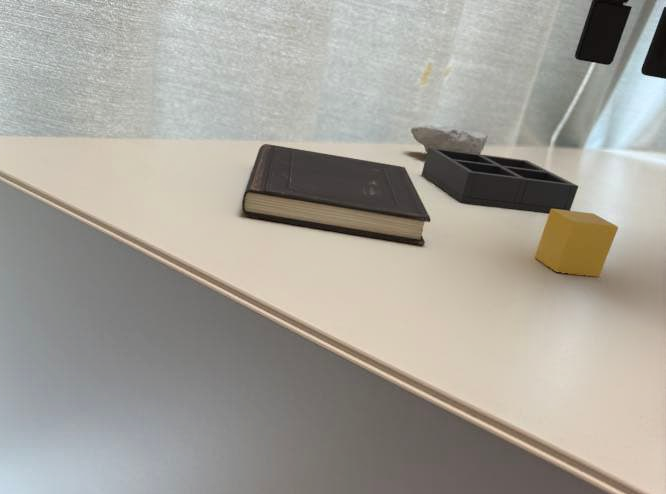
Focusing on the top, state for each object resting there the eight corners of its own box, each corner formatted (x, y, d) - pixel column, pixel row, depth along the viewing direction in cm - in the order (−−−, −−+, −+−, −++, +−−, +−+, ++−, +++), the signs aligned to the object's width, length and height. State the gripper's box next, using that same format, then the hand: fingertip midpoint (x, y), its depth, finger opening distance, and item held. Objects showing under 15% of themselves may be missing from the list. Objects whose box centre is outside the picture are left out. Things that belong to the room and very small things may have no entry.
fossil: (402, 125, 108) (471, 102, 108) (409, 175, 111) (476, 153, 111) (423, 130, 101) (497, 106, 100) (430, 183, 104) (502, 160, 104)
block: (575, 261, 71) (593, 213, 68) (599, 277, 68) (618, 226, 65) (534, 257, 70) (550, 208, 68) (555, 272, 67) (574, 221, 64)
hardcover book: (400, 189, 86) (405, 167, 85) (423, 245, 68) (430, 218, 66) (256, 165, 86) (259, 142, 84) (240, 215, 67) (244, 187, 66)
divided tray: (519, 187, 98) (527, 160, 97) (568, 215, 88) (578, 186, 86) (421, 174, 96) (427, 147, 94) (460, 202, 85) (469, 172, 83)
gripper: (892, -255, 44) (739, 93, 53) (703, -207, 57) (609, 64, 67) (780, -289, 42) (643, 77, 52) (613, -231, 56) (530, 50, 65)
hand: (624, 69), depth 59 cm, fingers open, 9 cm apart
